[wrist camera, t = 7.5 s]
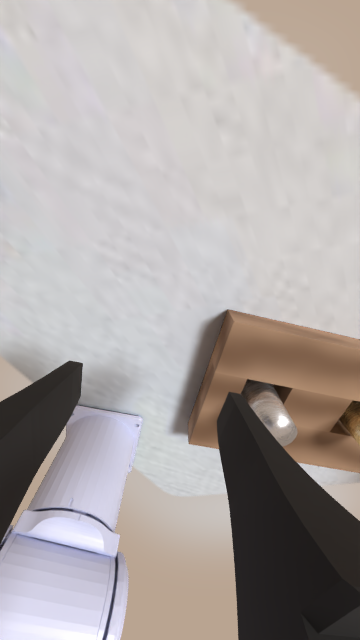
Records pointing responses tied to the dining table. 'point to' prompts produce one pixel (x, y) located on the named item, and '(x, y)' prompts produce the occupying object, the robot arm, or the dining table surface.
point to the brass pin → (352, 420)
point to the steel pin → (270, 410)
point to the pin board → (285, 384)
